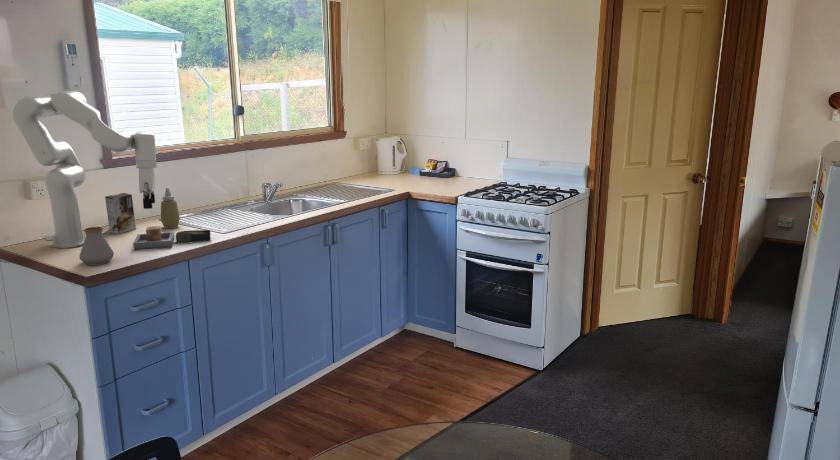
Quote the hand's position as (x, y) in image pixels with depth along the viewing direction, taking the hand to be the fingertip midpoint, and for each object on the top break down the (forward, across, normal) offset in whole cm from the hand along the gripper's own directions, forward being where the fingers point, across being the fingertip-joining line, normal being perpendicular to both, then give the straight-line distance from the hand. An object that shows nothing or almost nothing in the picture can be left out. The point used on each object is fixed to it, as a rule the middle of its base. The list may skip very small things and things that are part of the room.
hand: (149, 205), depth 250 cm
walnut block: (+15, 0, +1) cm, 15 cm away
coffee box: (+17, -27, -15) cm, 35 cm away
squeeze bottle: (+16, -28, +5) cm, 33 cm away
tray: (+16, 0, +1) cm, 16 cm away
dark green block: (+16, 0, +15) cm, 22 cm away
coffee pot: (+17, +17, -13) cm, 27 cm away
